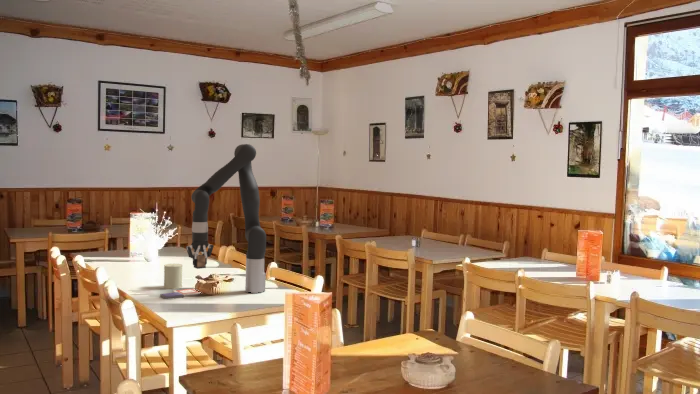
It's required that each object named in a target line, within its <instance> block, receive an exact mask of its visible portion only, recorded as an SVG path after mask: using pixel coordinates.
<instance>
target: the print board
mask: <svg viewBox="0 0 700 394" xmlns="http://www.w3.org/2000/svg"><path fill="white" fill-rule="evenodd" d="M196 290H197V289H196ZM196 290H195V288H188V289H187V288H186V289H184V288H183V289H179V290H178V289H174V290H172V293H174V292H178V293H181V294H183V295H184V296H192V295H199V294H200V293H201V292H202V291H201V292H198V291H199V290H198V291H196ZM201 294H202V293H201Z"/></svg>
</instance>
